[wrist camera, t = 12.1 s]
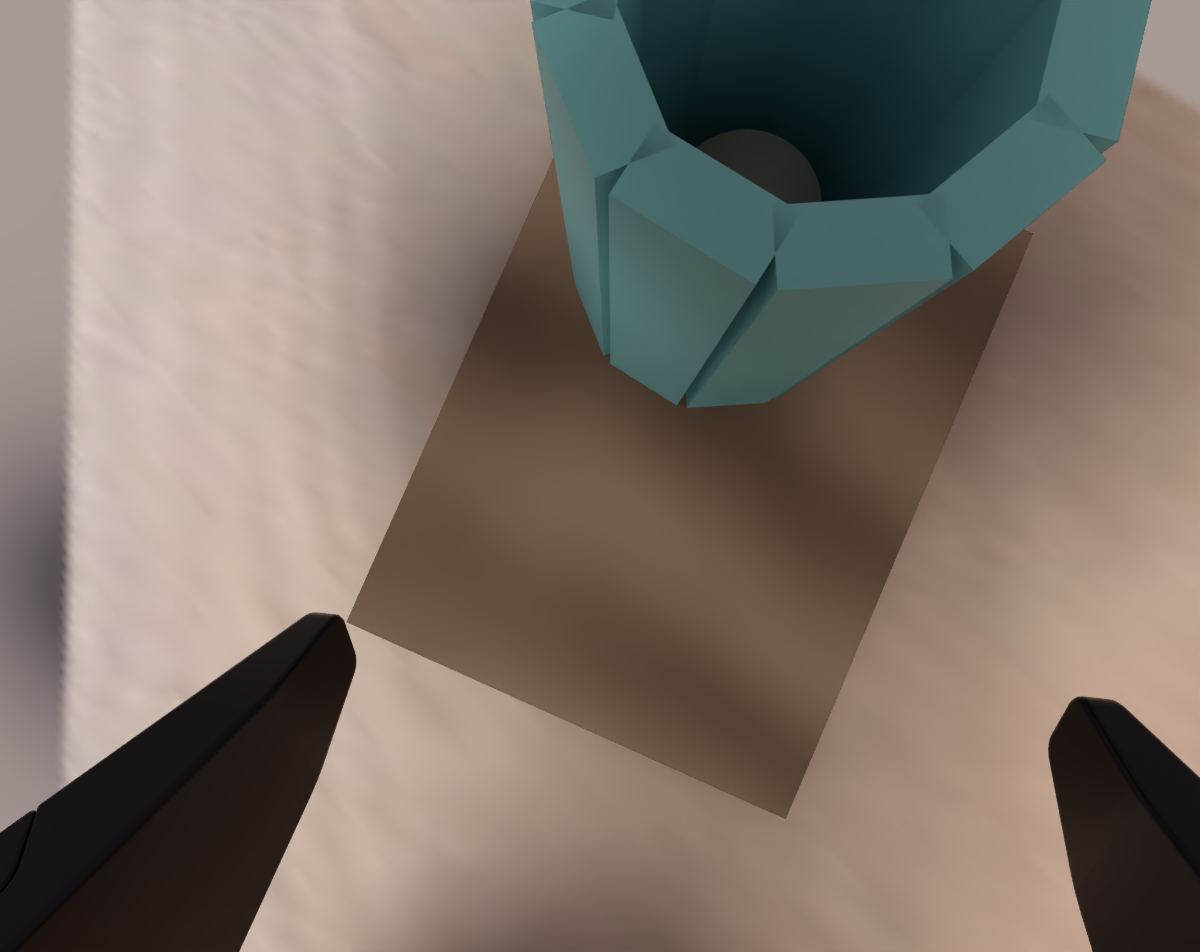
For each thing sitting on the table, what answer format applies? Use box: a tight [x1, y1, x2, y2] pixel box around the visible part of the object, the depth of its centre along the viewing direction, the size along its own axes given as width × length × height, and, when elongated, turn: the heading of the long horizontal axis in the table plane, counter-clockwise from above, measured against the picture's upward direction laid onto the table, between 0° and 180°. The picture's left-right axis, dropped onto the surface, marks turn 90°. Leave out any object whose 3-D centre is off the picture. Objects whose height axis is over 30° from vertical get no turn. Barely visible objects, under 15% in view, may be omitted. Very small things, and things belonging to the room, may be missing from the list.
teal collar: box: [530, 0, 1151, 408], centre depth 13 cm, size 7×7×10 cm
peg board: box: [347, 129, 1033, 819], centre depth 17 cm, size 16×12×5 cm
